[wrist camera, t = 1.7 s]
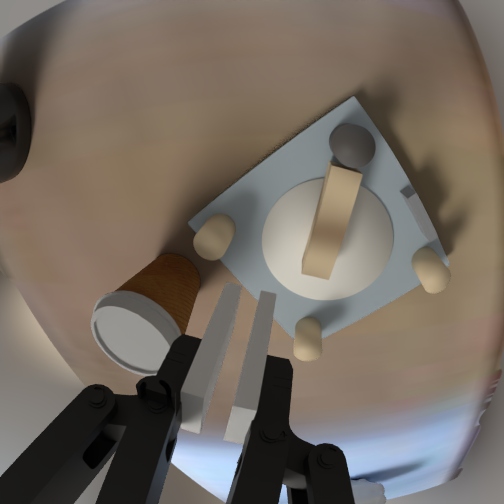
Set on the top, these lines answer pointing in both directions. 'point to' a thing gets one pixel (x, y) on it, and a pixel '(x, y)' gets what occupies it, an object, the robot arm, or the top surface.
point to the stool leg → (337, 198)
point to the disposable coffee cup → (146, 314)
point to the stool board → (299, 225)
